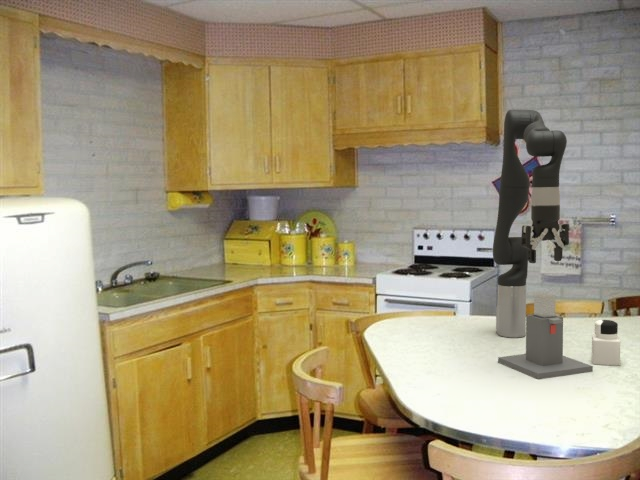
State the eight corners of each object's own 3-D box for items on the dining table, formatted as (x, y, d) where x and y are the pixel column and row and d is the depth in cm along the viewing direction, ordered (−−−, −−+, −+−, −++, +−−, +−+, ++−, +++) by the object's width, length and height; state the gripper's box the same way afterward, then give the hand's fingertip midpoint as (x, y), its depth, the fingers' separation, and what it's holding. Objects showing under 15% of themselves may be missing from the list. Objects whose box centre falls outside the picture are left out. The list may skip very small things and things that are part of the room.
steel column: (533, 358, 193) (533, 294, 191) (545, 357, 194) (545, 293, 192) (542, 362, 189) (543, 296, 187) (554, 360, 190) (555, 295, 188)
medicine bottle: (617, 359, 197) (618, 319, 196) (620, 366, 191) (620, 324, 190) (591, 358, 200) (592, 317, 199) (592, 364, 193) (593, 322, 192)
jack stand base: (498, 362, 197) (498, 313, 196) (549, 355, 203) (549, 307, 202) (538, 379, 180) (538, 325, 179) (592, 371, 186) (593, 319, 185)
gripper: (557, 202, 193) (557, 259, 195) (515, 204, 188) (515, 262, 190) (575, 203, 186) (575, 261, 188) (532, 204, 181) (532, 265, 183)
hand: (545, 261), depth 189 cm, fingers open, 8 cm apart
